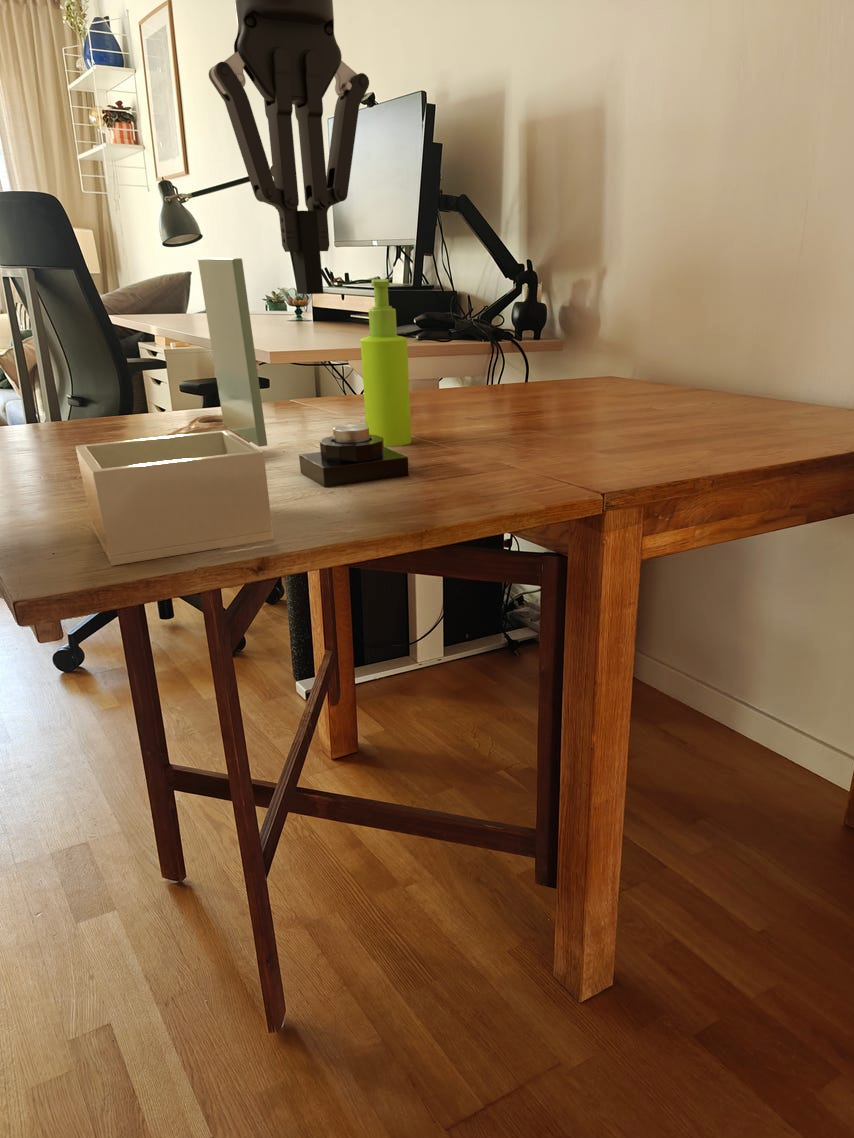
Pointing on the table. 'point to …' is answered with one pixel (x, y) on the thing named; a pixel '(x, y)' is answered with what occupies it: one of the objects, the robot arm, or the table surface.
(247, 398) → the box lid
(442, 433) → the table surface
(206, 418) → the pottery oil lamp
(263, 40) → the robot arm
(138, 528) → the wooden box
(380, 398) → the lime green bottle
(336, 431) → the silver push button
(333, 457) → the plate
